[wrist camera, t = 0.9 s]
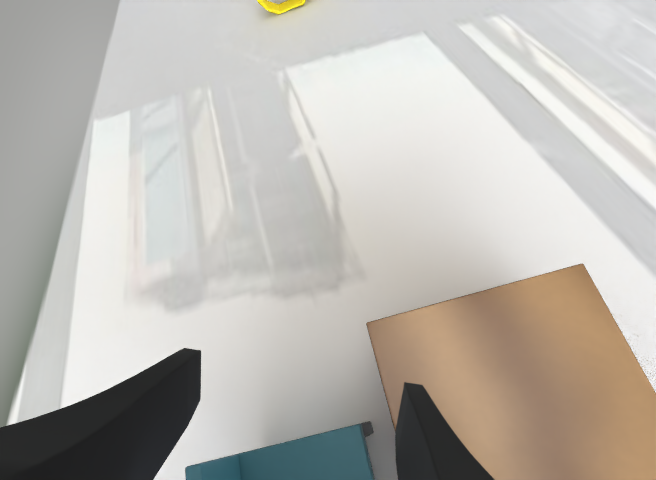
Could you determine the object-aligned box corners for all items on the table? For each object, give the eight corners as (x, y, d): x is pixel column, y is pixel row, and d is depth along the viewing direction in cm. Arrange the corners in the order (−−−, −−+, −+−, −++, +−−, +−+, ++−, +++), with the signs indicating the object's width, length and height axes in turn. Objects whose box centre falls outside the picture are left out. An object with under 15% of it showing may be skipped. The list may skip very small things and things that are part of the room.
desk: (459, 633, 20) (477, 741, 13) (379, 343, 26) (365, 322, 20) (683, 591, 19) (822, 688, 12) (541, 300, 25) (583, 262, 19)
